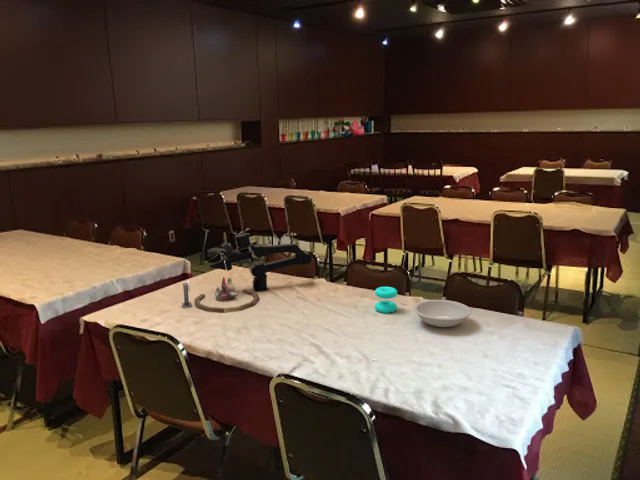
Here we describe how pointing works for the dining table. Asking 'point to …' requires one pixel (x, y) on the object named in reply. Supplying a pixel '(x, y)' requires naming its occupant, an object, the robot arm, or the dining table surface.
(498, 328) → the dining table surface
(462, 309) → the soup bowl
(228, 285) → the brake caliper
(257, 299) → the bent brown bar
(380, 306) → the donuts
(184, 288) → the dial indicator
